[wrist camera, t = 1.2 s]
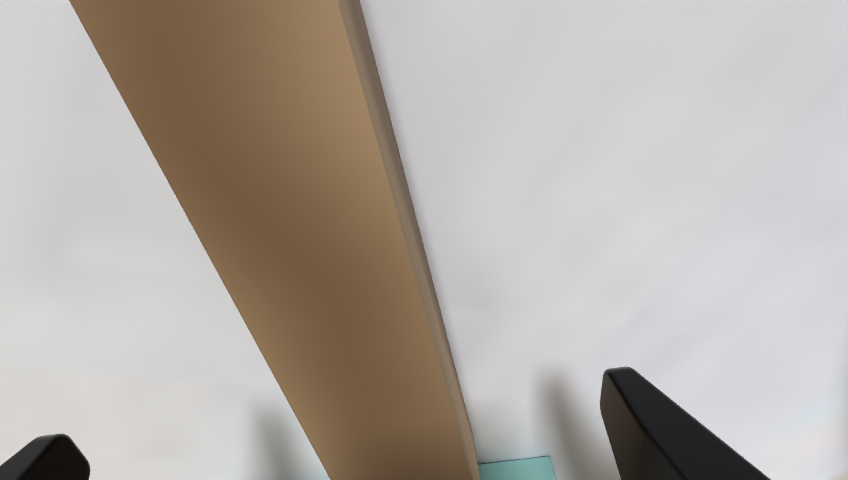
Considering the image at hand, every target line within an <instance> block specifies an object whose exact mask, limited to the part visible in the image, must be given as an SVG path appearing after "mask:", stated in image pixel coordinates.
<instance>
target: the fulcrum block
mask: <svg viewBox="0 0 848 480" xmlns="http://www.w3.org/2000/svg"><path fill="white" fill-rule="evenodd" d="M478 470H479V476H480V480H557V479H556V476H555V473H554V469H553V466H552V463H551V459H550V456H546V457H538V458H530V459H521V460H513V461H504V462H496V463H488V464H479V465H478Z"/></svg>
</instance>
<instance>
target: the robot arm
mask: <svg viewBox="0 0 848 480" xmlns="http://www.w3.org/2000/svg"><path fill="white" fill-rule="evenodd" d="M600 409H601V415H602V418H603V421H604V425H605V428H606V431H607V434H608V438H609V441H610V444H611V447H612V451H613V454H614V457H615V460H616V464H617V467H618V470H619V473H620V477H621V480H771V479H769V478H768V477H767V476H766V475H764V474H763V473H762V472H761V471H759V470H758V469H757V468H756V467H754V466H753V465H752V464H751V463H749V462H748V461H747V460H746V459H744V458H743V457H742V456H741V455H739V454H738V453H737V452H736V451H735V450H733V449H732V448H731V447H730V446H728V445H727V444H726V443H725V442H723V441H722V440H721V439H720V438H718V437H717V436H716V435H715V434H713V433H712V432H711V431H710V430H708V429H707V428H706V427H705V426H703V425H702V424H701V423H700V422H699V421H697V420H696V419H695V418H694V417H692V416H691V415H690V414H689V413H687V412H686V411H685V410H684V409H682V408H681V407H680V406H679V405H677V404H676V403H675V402H674V401H672V400H671V399H670V398H669V397H667V396H666V395H665V394H664V393H663V392H661V391H660V390H659V389H658V388H656V387H655V386H654V385H653V384H651V383H650V382H649V381H648V380H646V379H645V378H644V377H643V376H641V375H640V374H639V373H638V372H636V371H635V370H634V369H632V368H630V367H619V368H611V369H607V370H605V372H604V374H603V380H602V389H601V397H600ZM89 476H90V465H89V462H88V460H87V459H86V458H85V456H84V455H83V454H82V452H81V451H80V450H79V449H78V447H77V446H76V445H75V443H74V442H73V441H72V439H71V438H70V437H69V436H67V435H65V434H54V435H46V436H41V437H38V438H36V439H34V440H33V441H31V442H30V443H29V444H27V445H26V446H25V447H24V448H22V449H21V450H20V451H19V452H17V453H16V454H15V455H13V456H12V457H11V458H10V459H8V460H7V461H6V462H5V463H3V464H2V465H1V466H0V480H89Z"/></svg>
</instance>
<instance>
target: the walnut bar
mask: <svg viewBox="0 0 848 480" xmlns="http://www.w3.org/2000/svg"><path fill="white" fill-rule="evenodd" d="M69 1H70V2H71V4H72V6H73V8H74V10H75V12H76V14H77V15H78V17H79V19H80V21H81V23H82V25H83V26H84V28H85V30H86V32H87V34H88V36H89V37H90V39H91V41H92V43H93V45H94V47H95V48H96V50H97V52H98V54H99V56H100V58H101V59H102V61H103V63H104V65H105V67H106V69H107V70H108V72H109V74H110V76H111V78H112V80H113V81H114V83H115V85H116V87H117V89H118V91H119V92H120V94H121V96H122V98H123V100H124V102H125V103H126V105H127V107H128V109H129V111H130V113H131V114H132V116H133V118H134V120H135V122H136V124H137V125H138V127H139V129H140V131H141V133H142V135H143V136H144V138H145V140H146V142H147V144H148V146H149V147H150V149H151V151H152V153H153V155H154V157H155V158H156V160H157V162H158V164H159V166H160V168H161V169H162V171H163V173H164V175H165V177H166V179H167V180H168V182H169V184H170V186H171V188H172V190H173V191H174V193H175V195H176V197H177V199H178V201H179V202H180V204H181V206H182V208H183V210H184V212H185V213H186V215H187V217H188V219H189V221H190V223H191V224H192V226H193V228H194V230H195V232H196V234H197V235H198V237H199V239H200V241H201V243H202V245H203V246H204V248H205V250H206V252H207V254H208V256H209V257H210V259H211V261H212V263H213V265H214V267H215V268H216V270H217V272H218V274H219V276H220V278H221V279H222V281H223V283H224V285H225V287H226V289H227V290H228V292H229V294H230V296H231V298H232V300H233V301H234V303H235V305H236V307H237V309H238V311H239V312H240V314H241V316H242V318H243V320H244V322H245V324H246V325H247V327H248V329H249V331H250V333H251V335H252V336H253V338H254V340H255V342H256V344H257V346H258V347H259V349H260V351H261V353H262V355H263V357H264V358H265V360H266V362H267V364H268V366H269V368H270V369H271V371H272V373H273V375H274V377H275V379H276V380H277V382H278V384H279V386H280V388H281V390H282V391H283V393H284V395H285V397H286V399H287V401H288V402H289V404H290V406H291V408H292V410H293V412H294V413H295V415H296V417H297V419H298V421H299V423H300V424H301V426H302V428H303V430H304V432H305V434H306V435H307V437H308V439H309V441H310V443H311V445H312V446H313V448H314V450H315V452H316V454H317V456H318V457H319V459H320V461H321V463H322V465H323V467H324V468H325V470H326V472H327V474H328V476H329V478H330V479H331V480H480V476H479V470H478V464H477V458H476V452H475V446H474V440H473V434H472V430H471V426H470V423H469V419H468V415H467V411H466V407H465V403H464V400H463V396H462V392H461V388H460V384H459V380H458V377H457V373H456V369H455V365H454V361H453V357H452V354H451V350H450V346H449V342H448V338H447V334H446V331H445V327H444V323H443V319H442V315H441V311H440V308H439V304H438V300H437V296H436V292H435V288H434V285H433V281H432V277H431V273H430V269H429V265H428V262H427V258H426V254H425V250H424V246H423V242H422V239H421V235H420V231H419V227H418V223H417V219H416V216H415V212H414V208H413V204H412V200H411V196H410V193H409V189H408V185H407V181H406V177H405V173H404V170H403V166H402V162H401V158H400V154H399V150H398V147H397V143H396V139H395V135H394V131H393V127H392V124H391V120H390V116H389V112H388V108H387V104H386V101H385V97H384V93H383V89H382V85H381V81H380V78H379V74H378V70H377V66H376V62H375V58H374V55H373V51H372V47H371V43H370V39H369V35H368V32H367V28H366V24H365V20H364V16H363V12H362V9H361V5H360V1H359V0H69Z"/></svg>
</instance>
